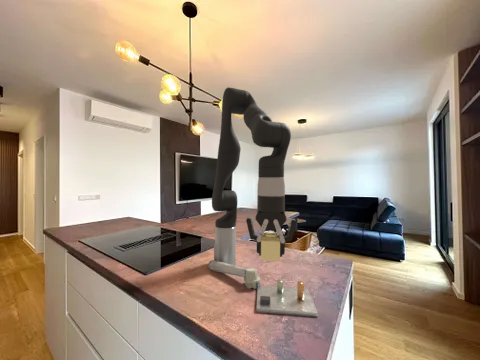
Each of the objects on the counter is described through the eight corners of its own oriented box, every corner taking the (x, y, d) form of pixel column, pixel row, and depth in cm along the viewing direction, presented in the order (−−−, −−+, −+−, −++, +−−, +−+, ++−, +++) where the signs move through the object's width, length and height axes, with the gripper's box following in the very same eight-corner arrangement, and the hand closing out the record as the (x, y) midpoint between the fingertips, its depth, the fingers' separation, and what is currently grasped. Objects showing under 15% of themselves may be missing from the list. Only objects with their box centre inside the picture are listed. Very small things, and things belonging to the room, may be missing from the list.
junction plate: (256, 312, 59) (256, 291, 59) (257, 288, 72) (257, 271, 72) (317, 316, 57) (317, 295, 57) (307, 291, 70) (307, 273, 70)
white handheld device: (215, 258, 91) (262, 265, 75) (216, 273, 90) (263, 285, 74) (206, 261, 87) (253, 270, 71) (207, 278, 86) (255, 290, 70)
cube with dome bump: (260, 260, 55) (261, 235, 55) (261, 253, 60) (261, 230, 60) (279, 261, 54) (280, 236, 54) (279, 254, 59) (279, 231, 59)
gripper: (243, 194, 54) (243, 258, 54) (299, 195, 52) (299, 262, 53) (246, 192, 62) (246, 249, 62) (295, 193, 60) (295, 252, 60)
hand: (270, 254), depth 57 cm, fingers closed on cube with dome bump, 5 cm apart
